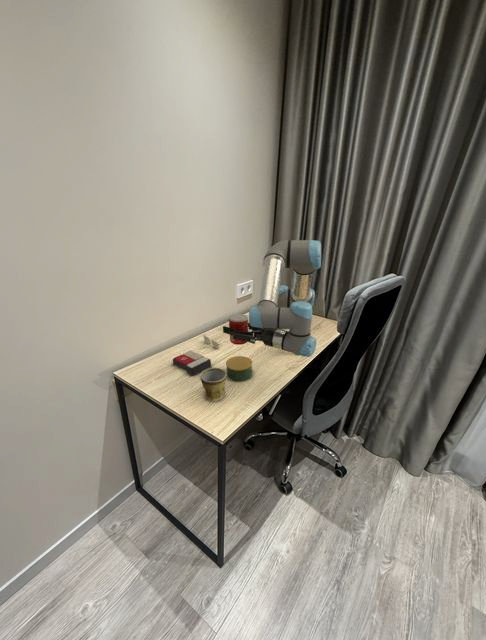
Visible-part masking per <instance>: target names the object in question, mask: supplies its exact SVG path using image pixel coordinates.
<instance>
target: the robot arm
mask: <svg viewBox="0 0 486 640" xmlns="http://www.w3.org/2000/svg"><path fill="white" fill-rule="evenodd" d="M321 266H322V243H321V241H320V240H315V239H314V240H313V239H294V240H293V239H292V240H291V239H290V240H289V239H285V240H281V241H278V242H276V243H275V244H273V245H272V246H271V247H270V248H268V250H267V251H266V253H265V255H264V257H263V260H262V268H263V272H262V277H261V282H260V287H259V293H258V298H257V303H256V305H255V306H250V308H249V312H248V331H236V329H233V328H230V327H229V326H226V325H223V326H222V329H223V330H222V333H224V334H227V335H229V336H230V335H233V339H236V340H241V341H246V342H247V343H249V344H253V345H255V344H256V342H262V343H263V345H265V346H266V347H271V348H274V349H277V350H281V351H284V352H288V353H291V354H295V355H298V356H301V357H307V358H309V357H312V356H313V355H314V353H315V351H316V349H317V343H318V342H317V338H315V337H314V336H312V335H311V330H312V322H313V321H312V320H313V307H314V303H315V296H316V292H315V290H314V289H312V288H311V287H312V280H313V275H314V272H315V271H316V270H319V269H320V268H321ZM285 269H292V271H293V272H294V284H293V287H292V288H289V286H287V285H285V284H284V285H283V284H281V281H282V273H283V271H284V270H285Z"/></svg>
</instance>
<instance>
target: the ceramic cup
mask: <svg viewBox="0 0 486 640" xmlns="http://www.w3.org/2000/svg"><path fill="white" fill-rule="evenodd" d="M199 379H200V382H201V384H202V387H203V390H204V392H205V396H206V398H207V400H208V401H211V402H217V401H220V400H222V399H223V397H225V396H224V395H225V389H226V383H227V371H226V370H225V369H223V368H220V367H212V366H211V367H209V368H207V369H205V370H203V371H201V372H200V374H199Z"/></svg>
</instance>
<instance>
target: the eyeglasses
mask: <svg viewBox="0 0 486 640" xmlns="http://www.w3.org/2000/svg"><path fill="white" fill-rule="evenodd" d="M217 331H223V328H220V329H217V330H216V332H217ZM212 333H213V331H211V332H209V333H207V335H210V334H212ZM207 335H206V334H202V337H203V340H204V342H205V343H206V344H210V343H212V346H213V347H214V349H219V347H220V346H222V345H223V344H224V342H221V343H219V342H218V341H216V340H214V339H210V338H209V336H207ZM227 342H229V340H228V341H226V343H227Z"/></svg>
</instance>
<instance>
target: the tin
mask: <svg viewBox="0 0 486 640" xmlns="http://www.w3.org/2000/svg"><path fill="white" fill-rule="evenodd" d="M225 367H226V378H228V379H229V380H231V381H233V382H245V381H247V380H249V379H251V378H252V376H253V360H252V359H251V358H249V357H247V356H243V355H237V356H236V355H235V356H232V357H229V358H228V359H227V360H226V361H225Z"/></svg>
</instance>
